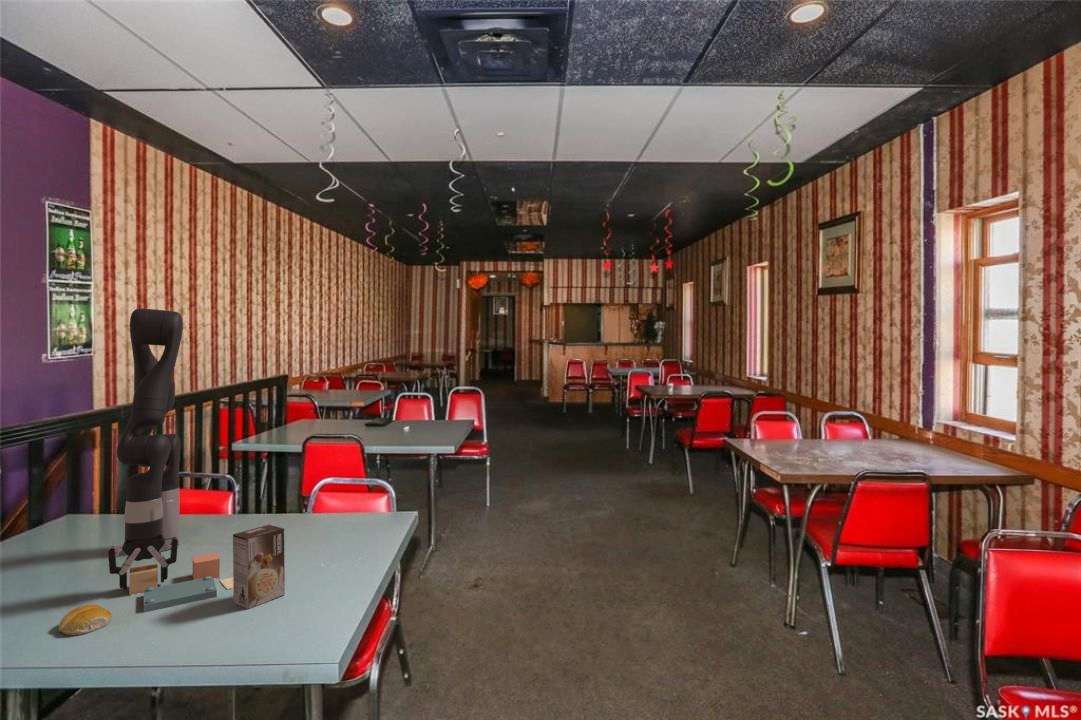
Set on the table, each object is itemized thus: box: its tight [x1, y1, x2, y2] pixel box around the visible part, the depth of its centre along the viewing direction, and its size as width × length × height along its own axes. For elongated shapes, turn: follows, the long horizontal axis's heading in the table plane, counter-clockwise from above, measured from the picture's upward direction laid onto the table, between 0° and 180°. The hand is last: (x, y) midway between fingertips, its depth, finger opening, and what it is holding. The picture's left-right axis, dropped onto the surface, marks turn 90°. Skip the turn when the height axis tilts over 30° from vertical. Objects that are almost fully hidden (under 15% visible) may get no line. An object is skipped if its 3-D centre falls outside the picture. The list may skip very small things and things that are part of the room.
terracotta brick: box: [192, 552, 221, 580], centre depth 142 cm, size 6×6×5 cm
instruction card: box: [219, 576, 233, 591], centre depth 141 cm, size 7×10×1 cm
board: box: [143, 576, 218, 613], centre depth 131 cm, size 10×14×2 cm
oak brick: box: [128, 562, 159, 596], centre depth 135 cm, size 6×6×5 cm
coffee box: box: [232, 524, 286, 610], centre depth 130 cm, size 9×6×16 cm
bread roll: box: [58, 603, 113, 636], centre depth 116 cm, size 8×9×4 cm
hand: (143, 585), depth 135 cm, fingers open, 7 cm apart
